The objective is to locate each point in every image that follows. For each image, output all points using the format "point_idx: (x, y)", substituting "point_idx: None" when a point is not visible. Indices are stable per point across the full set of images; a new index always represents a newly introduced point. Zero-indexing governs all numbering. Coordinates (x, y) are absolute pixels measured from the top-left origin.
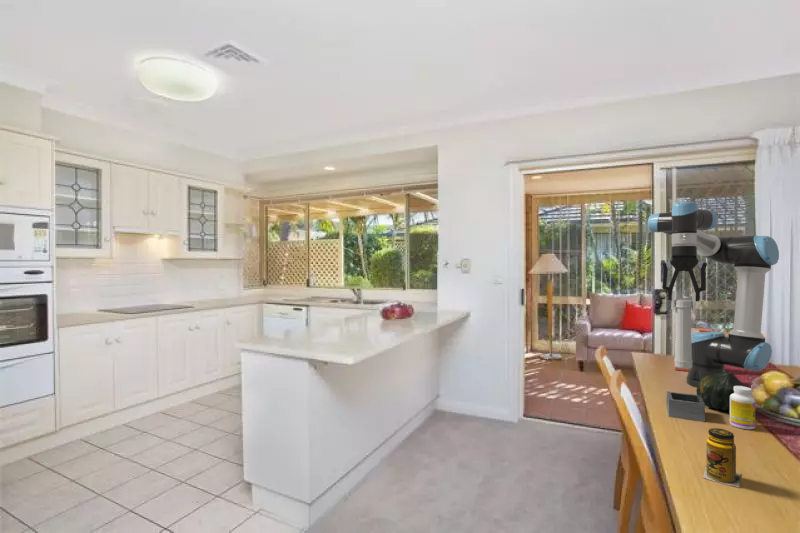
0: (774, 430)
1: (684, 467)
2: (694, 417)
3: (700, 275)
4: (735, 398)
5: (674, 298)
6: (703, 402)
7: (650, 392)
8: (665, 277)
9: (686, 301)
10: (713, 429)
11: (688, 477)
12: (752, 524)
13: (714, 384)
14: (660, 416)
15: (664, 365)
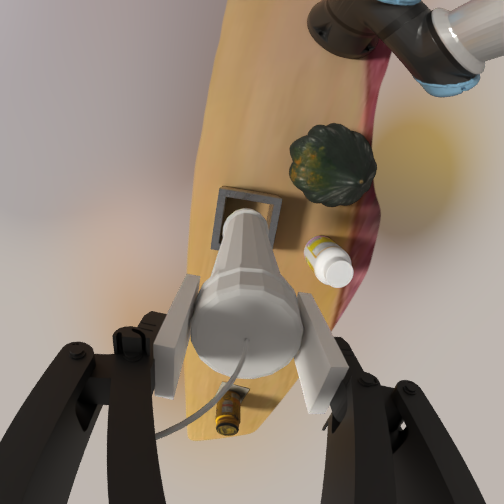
0: (356, 255)
1: (200, 388)
2: None
3: (440, 494)
4: (318, 278)
5: (181, 363)
6: (272, 247)
7: (213, 96)
8: (57, 478)
9: (253, 378)
10: (221, 427)
11: (200, 401)
12: (228, 436)
13: (317, 191)
14: (200, 242)
15: None
